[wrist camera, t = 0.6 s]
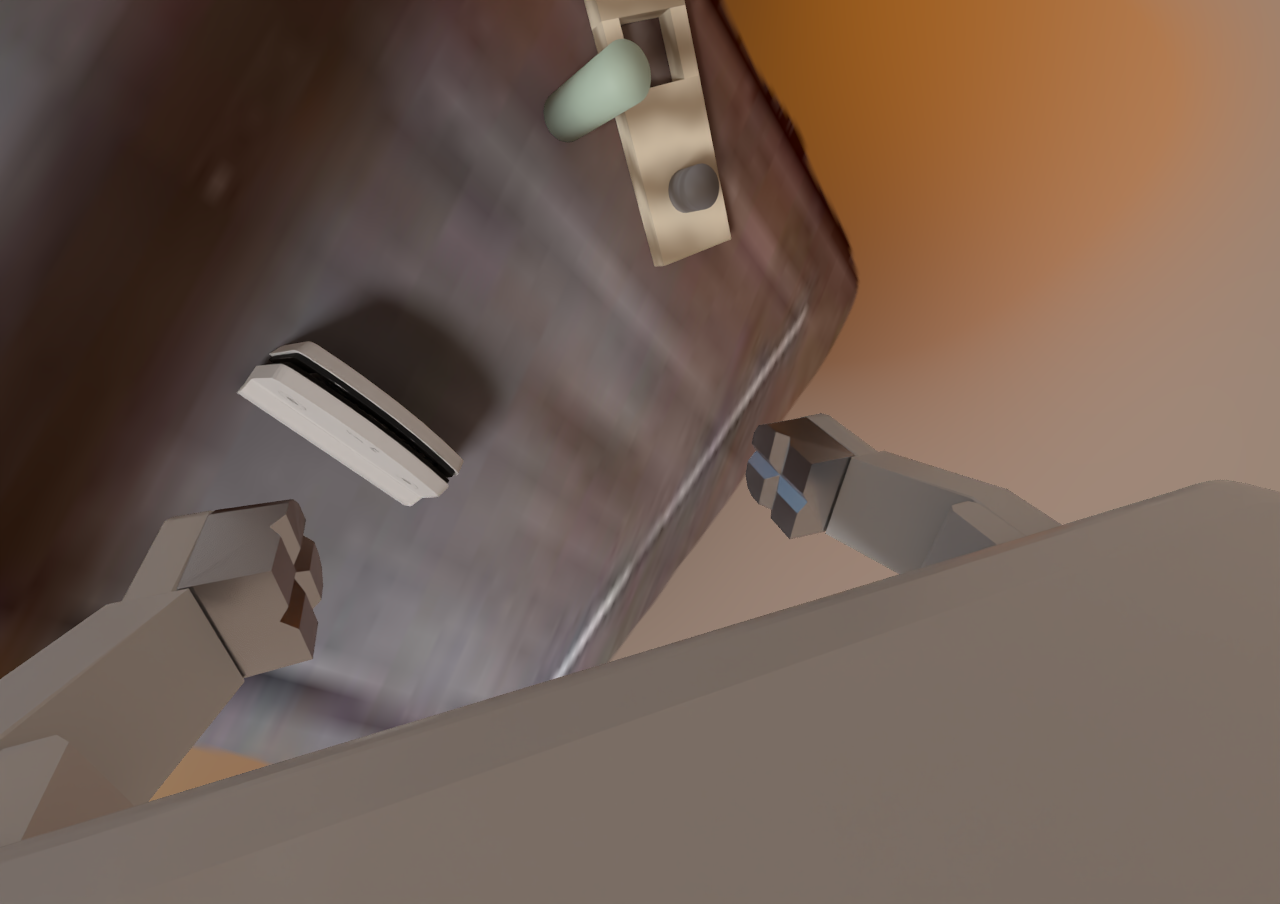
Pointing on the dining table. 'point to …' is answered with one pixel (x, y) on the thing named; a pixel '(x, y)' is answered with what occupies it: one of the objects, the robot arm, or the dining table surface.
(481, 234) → the dining table surface
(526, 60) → the dining table surface
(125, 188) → the dining table surface
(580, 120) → the peg
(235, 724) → the dining table surface
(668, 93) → the hole plate
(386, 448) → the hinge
